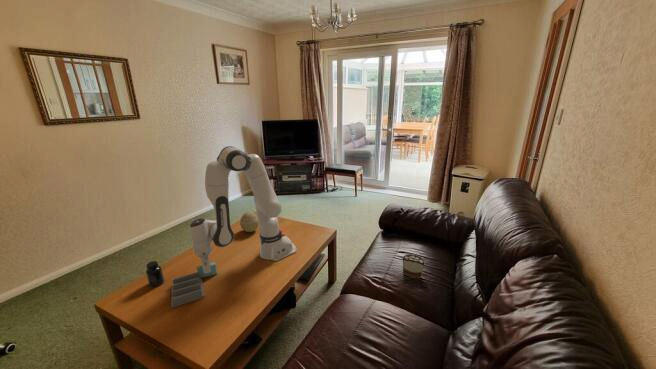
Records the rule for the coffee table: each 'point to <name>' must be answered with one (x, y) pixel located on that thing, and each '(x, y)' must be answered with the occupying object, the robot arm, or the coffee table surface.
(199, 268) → the teal upright panel
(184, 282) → the rack
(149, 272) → the supplement bottle
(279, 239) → the robot arm
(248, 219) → the fossilized egg
